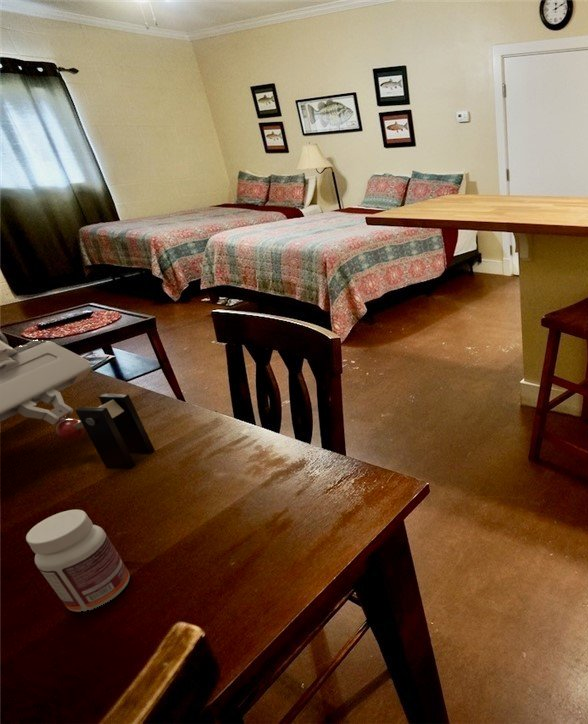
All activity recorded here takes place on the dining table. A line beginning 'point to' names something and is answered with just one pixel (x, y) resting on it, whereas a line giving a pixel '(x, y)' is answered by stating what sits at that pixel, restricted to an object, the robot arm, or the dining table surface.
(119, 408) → the lever
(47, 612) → the dining table surface
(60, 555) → the pill bottle
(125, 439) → the bracket
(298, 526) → the dining table surface
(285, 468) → the dining table surface
